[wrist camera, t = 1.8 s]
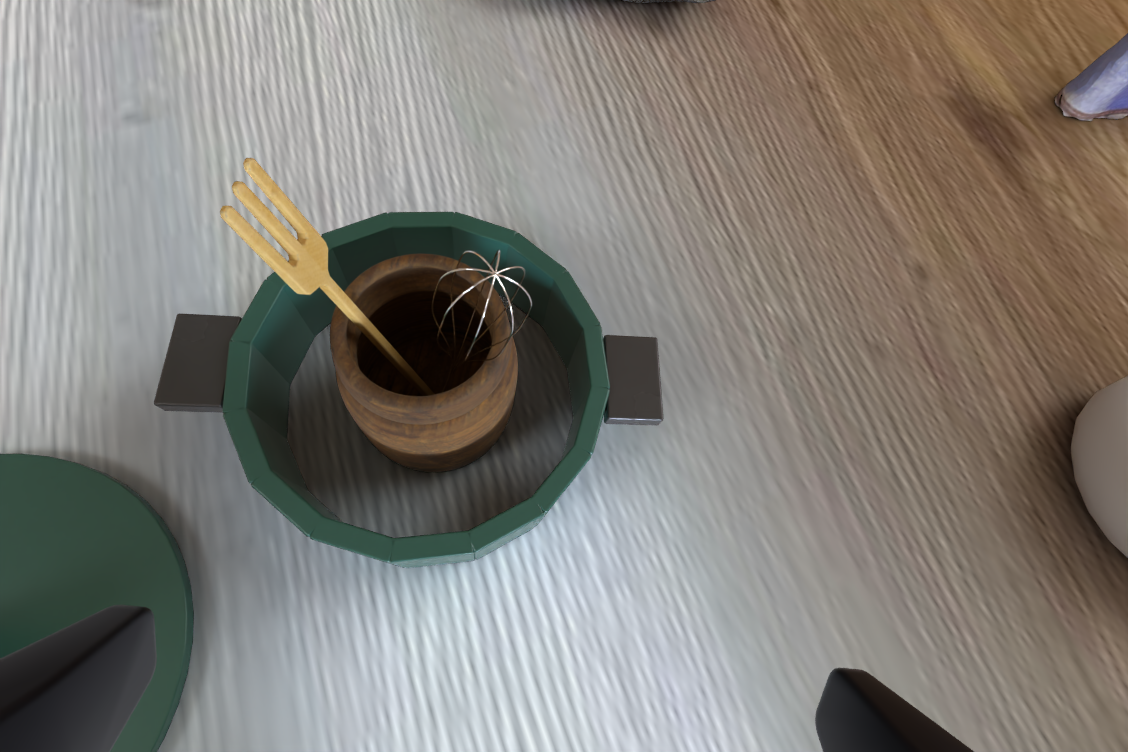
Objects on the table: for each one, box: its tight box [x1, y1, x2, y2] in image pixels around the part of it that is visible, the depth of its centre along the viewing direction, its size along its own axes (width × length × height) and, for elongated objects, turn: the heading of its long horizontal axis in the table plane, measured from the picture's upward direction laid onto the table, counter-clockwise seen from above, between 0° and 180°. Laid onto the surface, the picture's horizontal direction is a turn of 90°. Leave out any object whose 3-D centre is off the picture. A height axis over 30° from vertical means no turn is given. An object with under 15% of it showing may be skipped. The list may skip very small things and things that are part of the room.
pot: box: [154, 212, 663, 568], centre depth 21 cm, size 13×15×4 cm
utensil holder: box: [220, 158, 532, 472], centre depth 17 cm, size 6×6×12 cm
